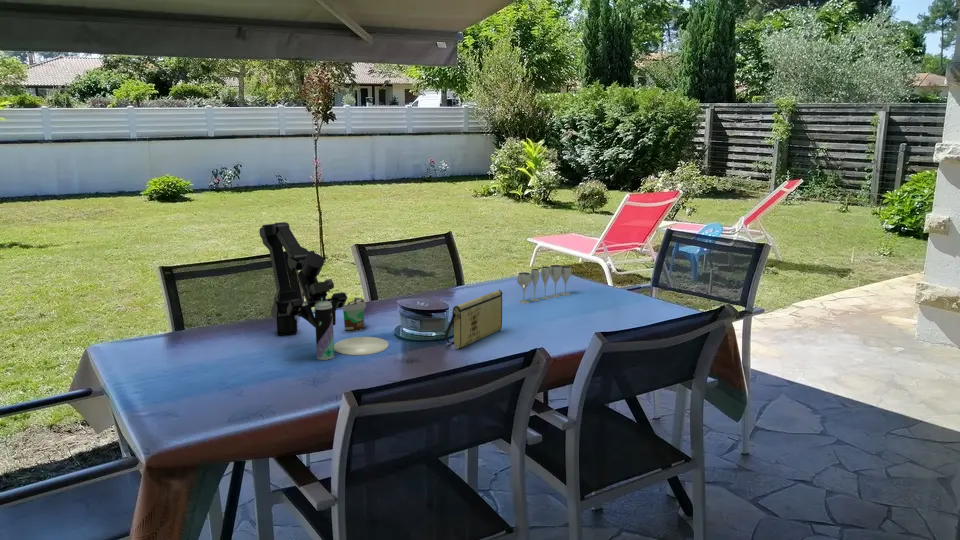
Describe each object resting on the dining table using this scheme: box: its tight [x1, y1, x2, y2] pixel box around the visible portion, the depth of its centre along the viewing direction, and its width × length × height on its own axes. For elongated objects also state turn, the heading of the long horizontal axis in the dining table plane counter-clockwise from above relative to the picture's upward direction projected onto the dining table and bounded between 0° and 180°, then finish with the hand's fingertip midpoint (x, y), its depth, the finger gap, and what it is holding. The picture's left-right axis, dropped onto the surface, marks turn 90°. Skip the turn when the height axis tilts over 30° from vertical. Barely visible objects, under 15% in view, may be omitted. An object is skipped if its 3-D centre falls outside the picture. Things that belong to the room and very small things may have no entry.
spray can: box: [313, 296, 335, 361], centre depth 231 cm, size 6×6×20 cm
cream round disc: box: [334, 336, 389, 356], centre depth 243 cm, size 18×18×1 cm
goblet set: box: [516, 264, 572, 304], centre depth 305 cm, size 28×6×13 cm, turn 126°
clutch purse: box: [444, 289, 503, 350], centre depth 250 cm, size 30×7×15 cm, turn 146°
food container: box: [342, 297, 367, 332], centre depth 263 cm, size 12×6×10 cm, turn 168°
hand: (326, 326), depth 229 cm, fingers closed on spray can, 5 cm apart
